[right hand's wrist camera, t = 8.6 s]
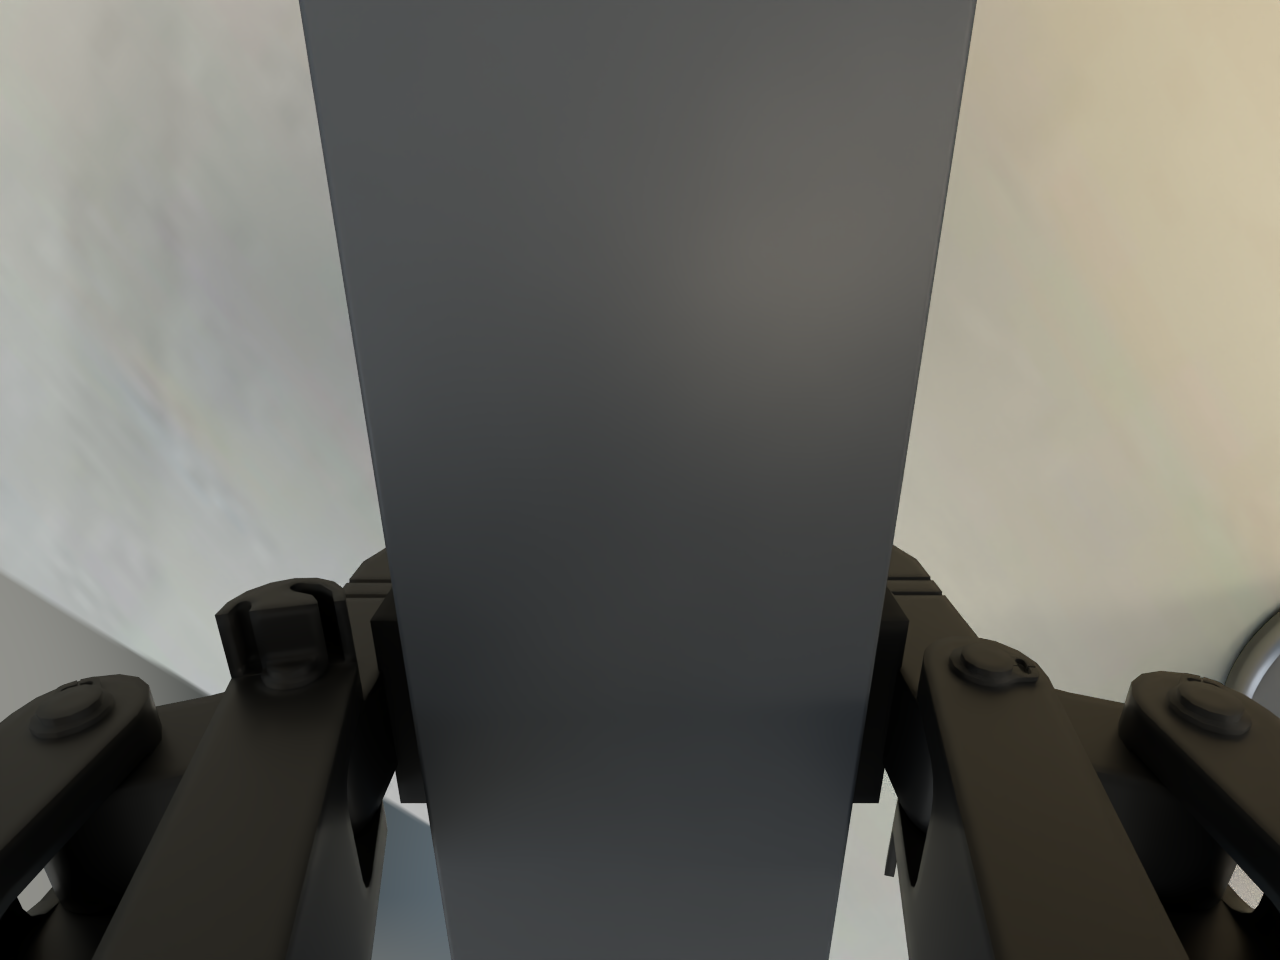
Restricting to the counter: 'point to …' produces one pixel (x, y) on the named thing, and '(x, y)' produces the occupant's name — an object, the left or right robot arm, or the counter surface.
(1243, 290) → the counter surface
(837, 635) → the beam
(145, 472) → the counter surface
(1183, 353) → the counter surface
